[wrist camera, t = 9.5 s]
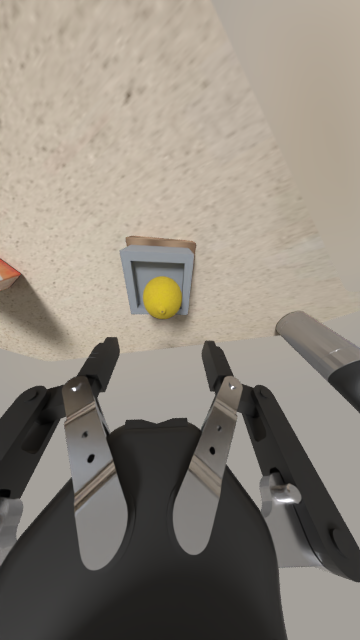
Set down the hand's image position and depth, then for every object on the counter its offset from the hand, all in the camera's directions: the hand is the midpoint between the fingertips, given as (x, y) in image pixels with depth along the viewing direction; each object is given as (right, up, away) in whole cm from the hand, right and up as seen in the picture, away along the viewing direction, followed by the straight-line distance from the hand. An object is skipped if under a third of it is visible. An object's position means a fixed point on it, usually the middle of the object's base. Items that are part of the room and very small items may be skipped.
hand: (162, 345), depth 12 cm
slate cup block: (-2, +11, +14) cm, 18 cm away
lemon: (-1, +8, +10) cm, 13 cm away
